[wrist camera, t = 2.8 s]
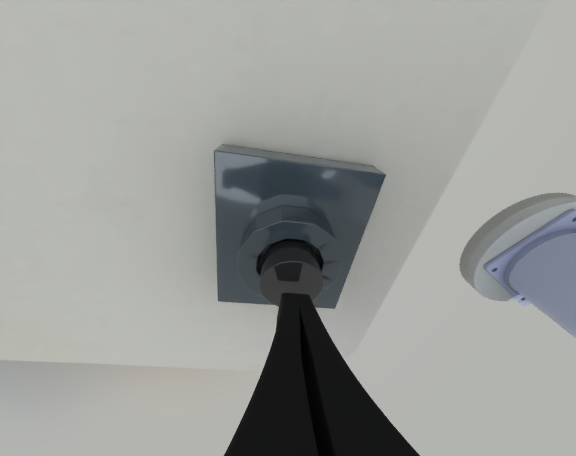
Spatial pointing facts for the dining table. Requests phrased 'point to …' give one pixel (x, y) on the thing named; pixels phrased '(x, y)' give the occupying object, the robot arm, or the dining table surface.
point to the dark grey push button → (290, 271)
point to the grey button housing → (288, 216)
